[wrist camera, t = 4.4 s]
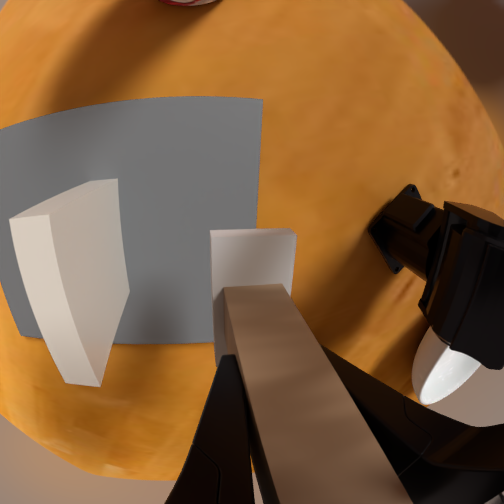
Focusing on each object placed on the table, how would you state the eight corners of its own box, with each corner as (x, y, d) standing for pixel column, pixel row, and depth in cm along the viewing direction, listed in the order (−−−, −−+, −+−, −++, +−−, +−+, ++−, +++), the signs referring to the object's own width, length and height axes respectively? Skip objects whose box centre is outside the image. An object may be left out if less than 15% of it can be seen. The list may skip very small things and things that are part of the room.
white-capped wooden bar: (289, 228, 10) (501, 456, 1) (277, 348, 13) (359, 537, 4) (210, 230, 10) (299, 580, 1) (214, 354, 12) (259, 566, 3)
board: (257, 102, 16) (262, 99, 15) (246, 328, 23) (249, 339, 22) (-9, 136, 12) (-20, 137, 10) (26, 326, 19) (21, 335, 17)
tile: (117, 178, 15) (48, 214, 7) (130, 291, 18) (100, 386, 10) (88, 181, 15) (6, 219, 6) (103, 291, 18) (63, 382, 9)
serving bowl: (408, 291, 26) (448, 324, 20) (494, 246, 28) (526, 264, 22) (384, 396, 35) (404, 425, 28) (466, 344, 37) (487, 364, 31)
